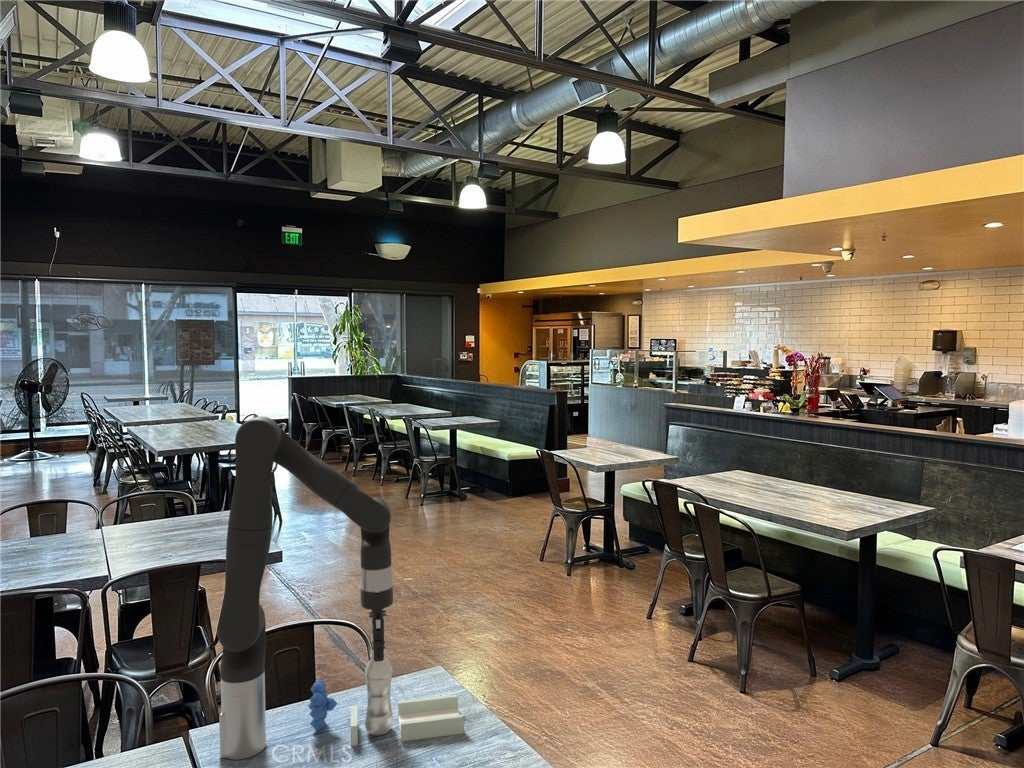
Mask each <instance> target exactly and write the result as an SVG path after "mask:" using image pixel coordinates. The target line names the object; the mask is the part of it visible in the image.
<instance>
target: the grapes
mask: <svg viewBox="0 0 1024 768" xmlns="http://www.w3.org/2000/svg"><path fill="white" fill-rule="evenodd" d="M326 687H327V684H326V683H325V682H324V681H323V680H322V679H317V680H316V681H315V682H314V683H313V685H312V686H311V688H310V691H311V693H312V694H313V695H312V696H311V697H310V699H309V701H310V703H309V704H308V706H307V707H308V709H309V710H310V712H309V715H310V717H311V718H312V720H311V722H310V726H311V727H312V728H313V729H314V730H315V731H316V732H320V731H322V730H323V728H324V727H325V726H326V724H327V722H326V721H325V720H326V718H327V717H328V711H330V712H331V711H333V710H334V709H335V708H336V706H337V705H338V702H337V701H336V700H335V699H334V698H333V697H328V694H327V692H328V691H327V689H326Z"/></svg>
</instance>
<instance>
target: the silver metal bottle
mask: <svg viewBox="0 0 1024 768" xmlns="http://www.w3.org/2000/svg"><path fill="white" fill-rule="evenodd" d="M383 646H384V660H383V661H378V662H375V661H374V646H373V645H372V647H370V655H369V658H370V660H369V661H368V663H367V665H366V666H365V670H364V677H365V682H366V684H365V685H366V696H367V698H366V699H367V703H366V705H367V707H366V713H365V720H364V726H365V731H366V732H367V733H368V734H369V735H371V736H382V735H385V734H387V733H389V732H390V731H391V728H392V727H393V723H394V715H393V710H392V702H391V691H392V690H391V685H392V679H393V678H392V677H393V665H392V663H391V662H390V660H389V659H388V658H387V655H388V654H387V646H386V645H385V644H384V645H383Z"/></svg>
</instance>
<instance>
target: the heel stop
mask: <svg viewBox="0 0 1024 768" xmlns="http://www.w3.org/2000/svg"><path fill="white" fill-rule="evenodd" d="M358 717H359V716H358V705H354V706H353V705H352V706H350V746H358V741H359V738H358V737H359V735H358V734H359V733H358V731H359V729H358V726H359V725H358V721H359V720H358Z"/></svg>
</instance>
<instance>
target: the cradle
mask: <svg viewBox="0 0 1024 768" xmlns="http://www.w3.org/2000/svg"><path fill="white" fill-rule="evenodd" d="M458 701H459V700H458V694H449V695H440V696H431V697H430V696H429V697H423V698H415V699H405V700H398V702H397V703H398V704H397V705H398V706H397V709H398V712H397V714H398V716H397V717H398V718H397V719H398V725H399V736H400V741H401V742H409V741H414V740H415V741H417V740H423V739H424V740H425V739H431V738H438V737H439V738H440V737H446V736H447V737H448V736H454V735H461V734H464V731H465V730H464V727H465V726H464V722H465V721H464V714H460V711H459V708H458V706H459V705H458V703H459V702H458Z"/></svg>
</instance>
